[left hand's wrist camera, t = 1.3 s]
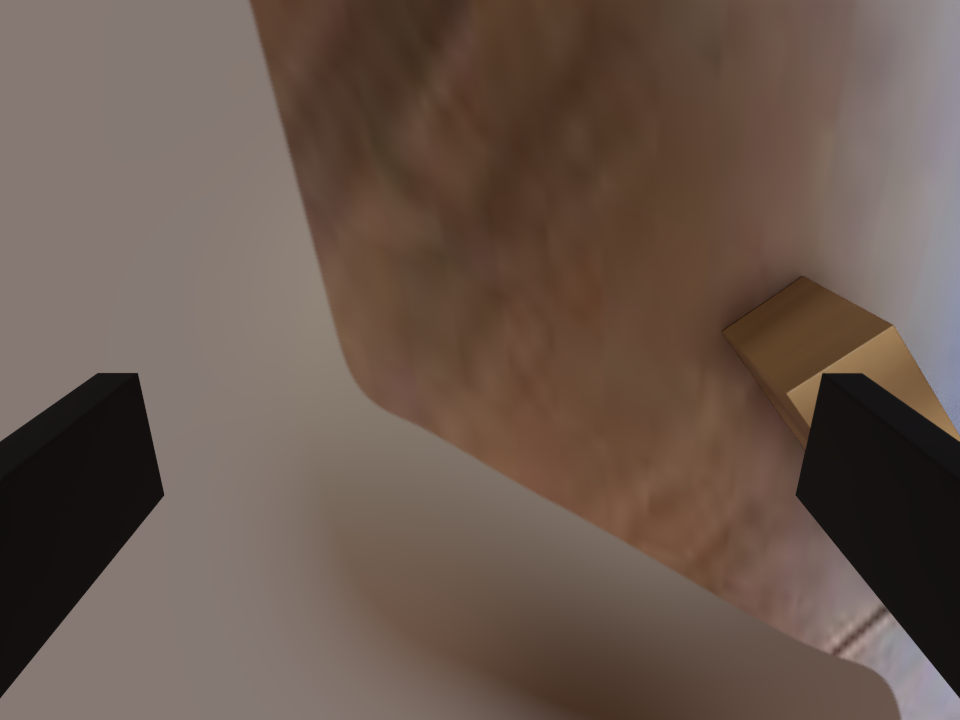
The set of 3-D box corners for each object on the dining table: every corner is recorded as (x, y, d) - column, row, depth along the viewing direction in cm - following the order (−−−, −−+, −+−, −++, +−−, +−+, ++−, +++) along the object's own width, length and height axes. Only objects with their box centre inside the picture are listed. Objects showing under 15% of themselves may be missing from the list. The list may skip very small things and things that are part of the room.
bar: (721, 331, 34) (785, 393, 27) (803, 275, 33) (894, 324, 26) (922, 617, 41) (1016, 726, 34) (995, 579, 40) (1108, 685, 33)
